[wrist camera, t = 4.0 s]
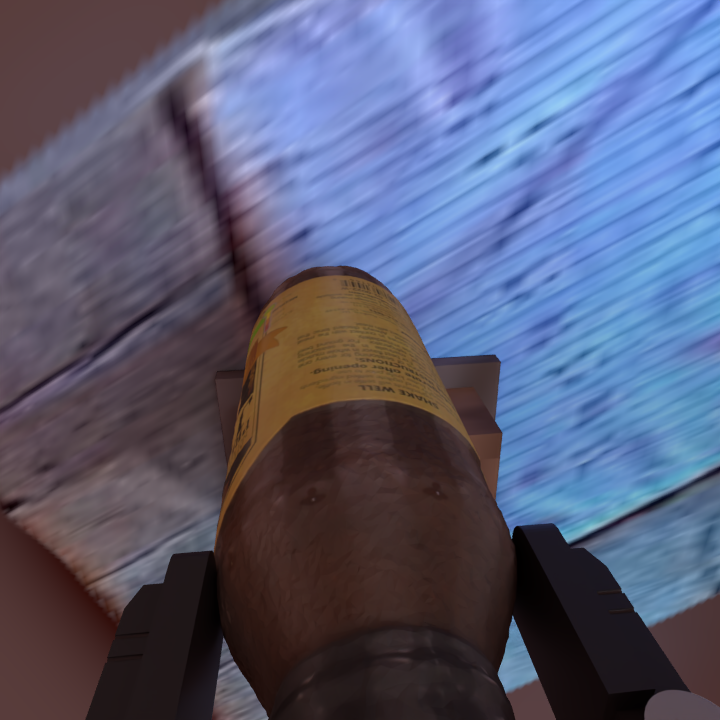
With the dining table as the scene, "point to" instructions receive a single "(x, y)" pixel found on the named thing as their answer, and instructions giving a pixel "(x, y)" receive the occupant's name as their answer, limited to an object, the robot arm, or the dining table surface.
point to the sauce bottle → (358, 520)
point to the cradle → (462, 382)
